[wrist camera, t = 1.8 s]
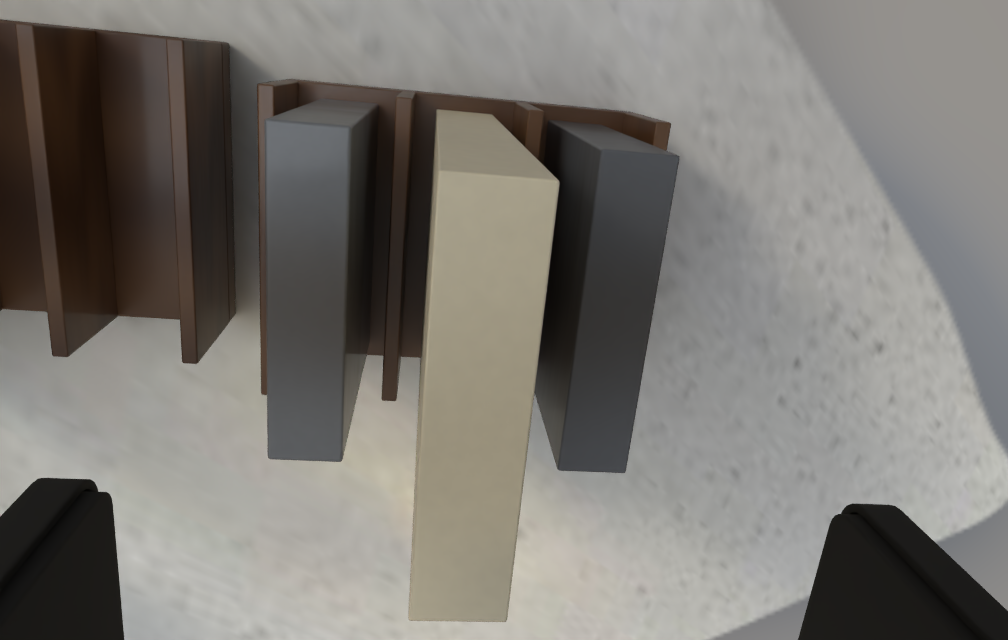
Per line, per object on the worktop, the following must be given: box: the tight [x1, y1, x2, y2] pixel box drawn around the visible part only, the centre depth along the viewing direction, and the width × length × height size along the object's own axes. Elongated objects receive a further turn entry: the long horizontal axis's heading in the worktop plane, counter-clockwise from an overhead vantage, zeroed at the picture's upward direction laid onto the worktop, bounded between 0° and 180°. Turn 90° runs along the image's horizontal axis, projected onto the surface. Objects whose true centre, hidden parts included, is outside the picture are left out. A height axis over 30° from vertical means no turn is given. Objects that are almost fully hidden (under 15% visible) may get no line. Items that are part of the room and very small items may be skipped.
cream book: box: [408, 109, 560, 622], centre depth 20 cm, size 9×2×15 cm, turn 174°
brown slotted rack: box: [257, 79, 679, 473], centre depth 24 cm, size 10×12×10 cm
